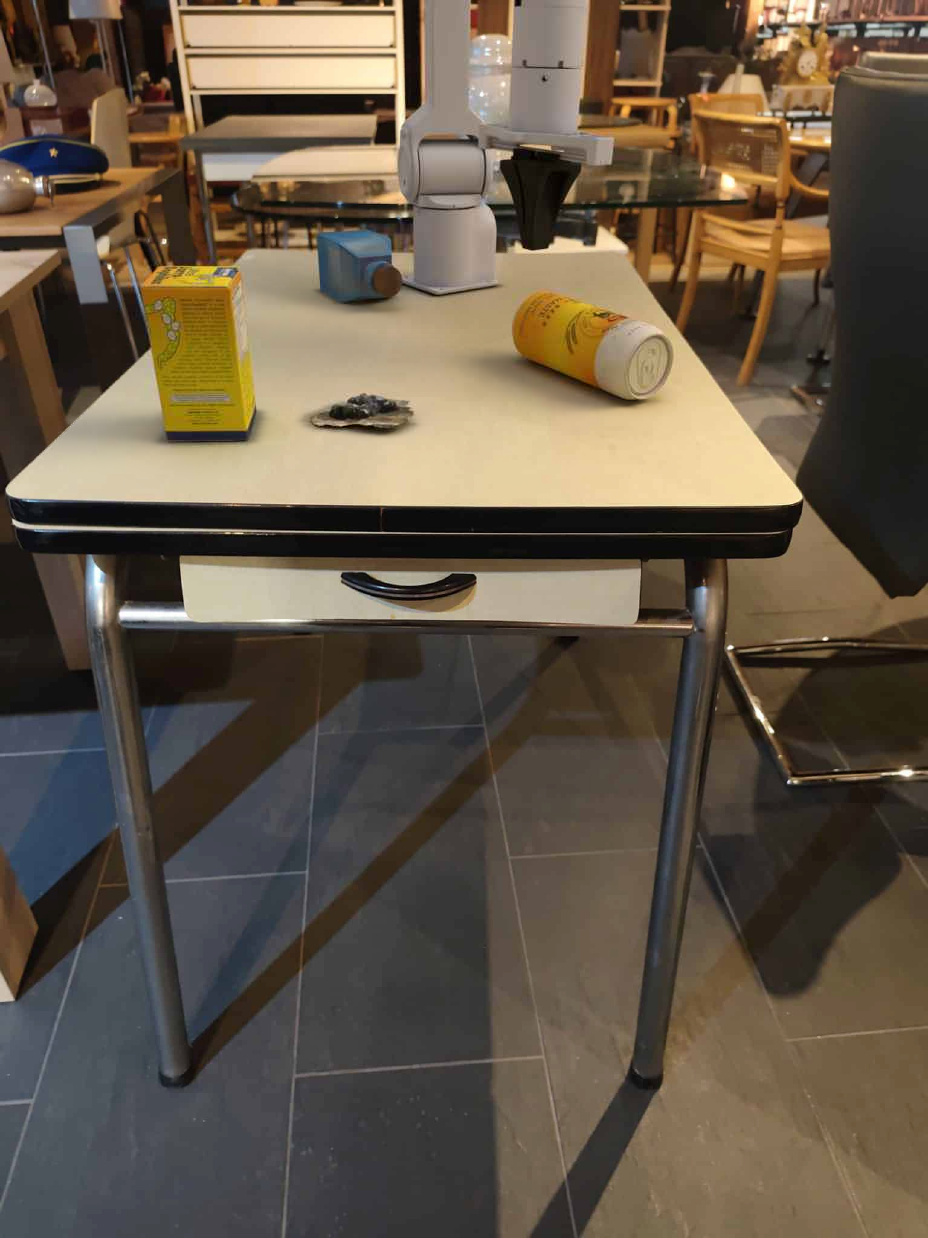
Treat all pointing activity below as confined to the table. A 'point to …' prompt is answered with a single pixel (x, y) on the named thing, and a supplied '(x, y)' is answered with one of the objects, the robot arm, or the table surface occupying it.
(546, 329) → the beer can
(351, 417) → the grey flat lumpy piece
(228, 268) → the supplement box
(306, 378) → the table surface
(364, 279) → the perfume bottle
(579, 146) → the robot arm
